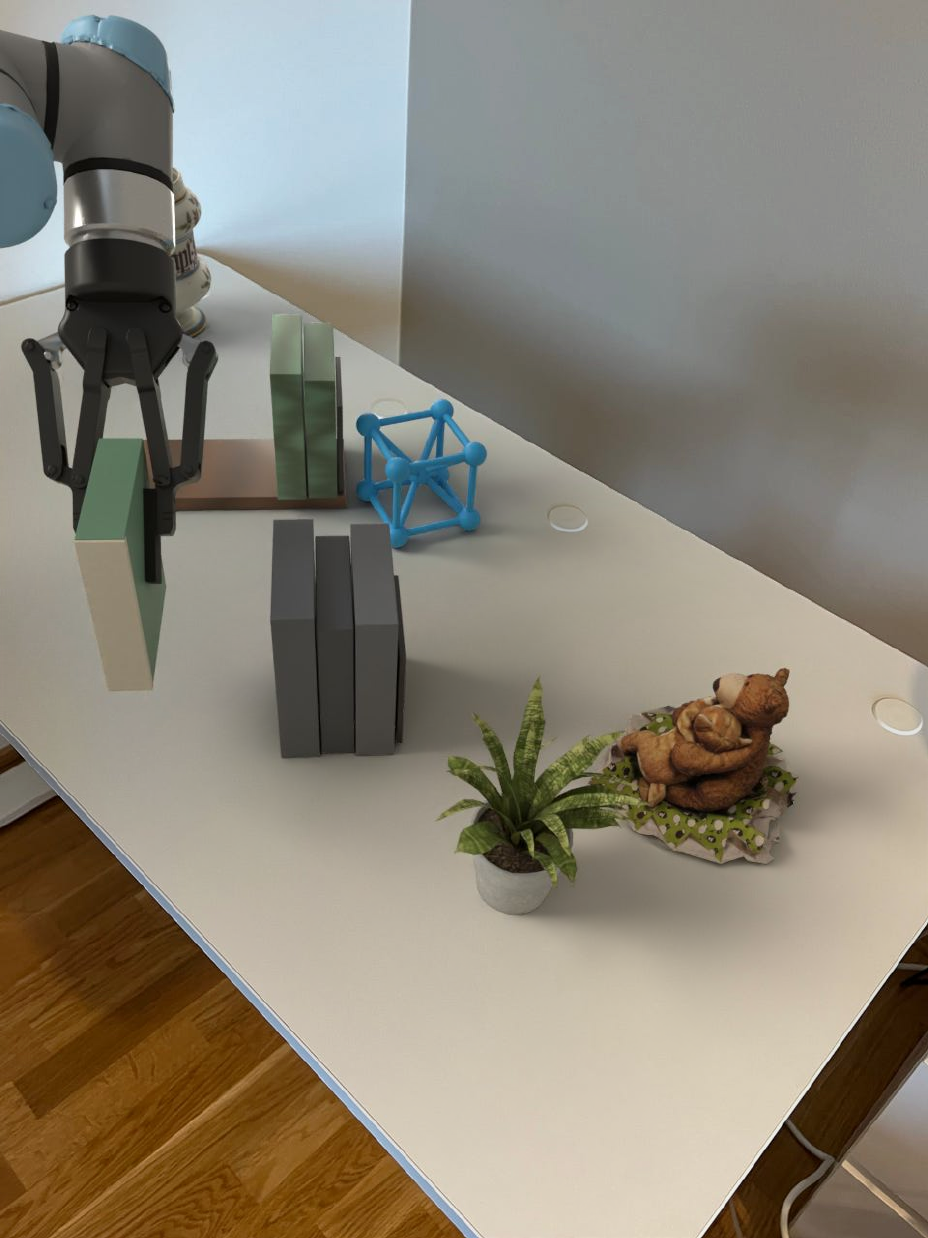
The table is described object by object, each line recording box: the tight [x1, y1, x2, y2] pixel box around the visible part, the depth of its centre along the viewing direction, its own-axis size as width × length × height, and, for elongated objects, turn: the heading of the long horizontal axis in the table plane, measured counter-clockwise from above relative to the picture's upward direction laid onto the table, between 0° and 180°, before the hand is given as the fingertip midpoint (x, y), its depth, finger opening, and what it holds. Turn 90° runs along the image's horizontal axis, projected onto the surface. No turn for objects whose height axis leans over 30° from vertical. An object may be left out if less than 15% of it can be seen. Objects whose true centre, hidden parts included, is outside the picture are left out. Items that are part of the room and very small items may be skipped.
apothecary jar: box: [170, 166, 212, 338], centre depth 124 cm, size 12×12×18 cm
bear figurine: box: [587, 667, 799, 865], centre depth 80 cm, size 14×15×12 cm
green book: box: [73, 437, 167, 693], centre depth 75 cm, size 3×11×14 cm, turn 6°
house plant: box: [433, 676, 653, 916], centre depth 70 cm, size 14×14×16 cm
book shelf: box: [143, 313, 348, 511], centre depth 103 cm, size 22×11×16 cm, turn 96°
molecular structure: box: [355, 398, 488, 549], centre depth 103 cm, size 10×10×10 cm
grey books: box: [269, 518, 407, 759], centre depth 83 cm, size 10×11×15 cm
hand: (126, 582), depth 75 cm, fingers closed on green book, 3 cm apart
